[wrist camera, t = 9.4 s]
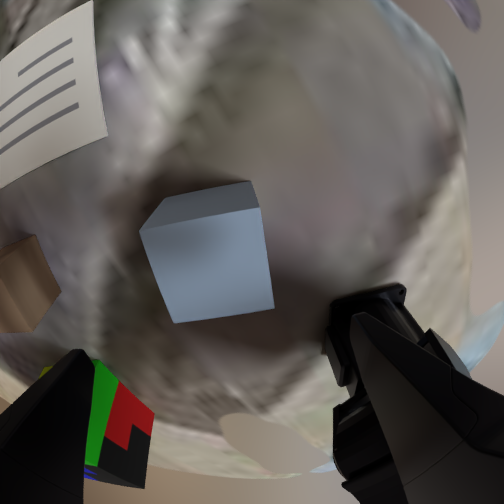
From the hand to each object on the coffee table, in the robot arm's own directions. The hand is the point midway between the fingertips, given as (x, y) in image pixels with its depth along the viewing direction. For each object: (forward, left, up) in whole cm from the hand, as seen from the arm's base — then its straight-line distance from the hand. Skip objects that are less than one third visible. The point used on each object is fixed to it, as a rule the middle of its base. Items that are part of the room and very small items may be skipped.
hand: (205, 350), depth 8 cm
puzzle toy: (+18, +16, -10) cm, 26 cm away
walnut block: (+16, 0, -9) cm, 19 cm away
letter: (+12, -12, -9) cm, 19 cm away
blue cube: (0, 0, -9) cm, 9 cm away
